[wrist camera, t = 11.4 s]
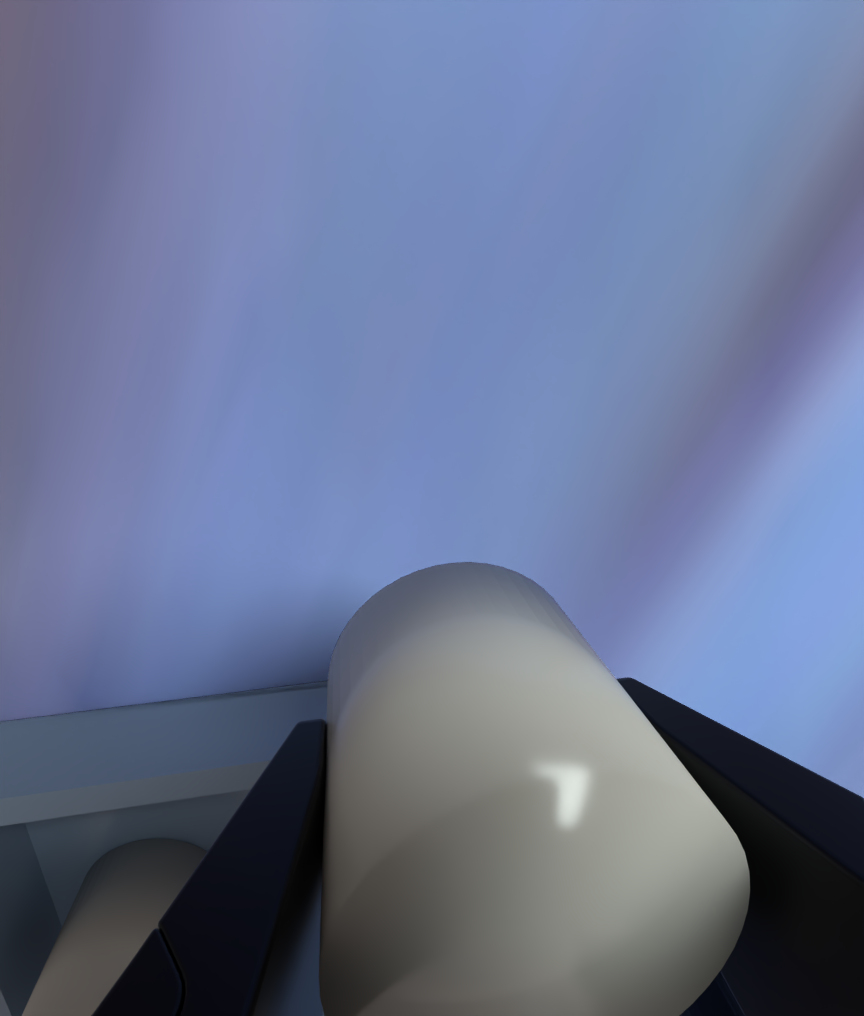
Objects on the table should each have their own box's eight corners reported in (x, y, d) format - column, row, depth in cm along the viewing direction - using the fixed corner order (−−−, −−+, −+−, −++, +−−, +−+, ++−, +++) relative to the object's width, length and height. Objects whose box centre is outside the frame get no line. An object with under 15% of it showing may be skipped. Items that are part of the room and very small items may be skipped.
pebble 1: (234, 927, 19) (204, 1100, 15) (96, 947, 18) (23, 1135, 14) (219, 830, 18) (181, 992, 13) (68, 848, 17) (-22, 1025, 13)
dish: (454, 961, 22) (471, 1056, 19) (82, 1035, 20) (40, 1153, 17) (445, 666, 17) (465, 732, 15) (-34, 726, 16) (-117, 815, 13)
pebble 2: (570, 759, 11) (720, 1043, 6) (339, 795, 10) (340, 1133, 6) (581, 549, 9) (782, 739, 5) (314, 577, 9) (291, 817, 4)
